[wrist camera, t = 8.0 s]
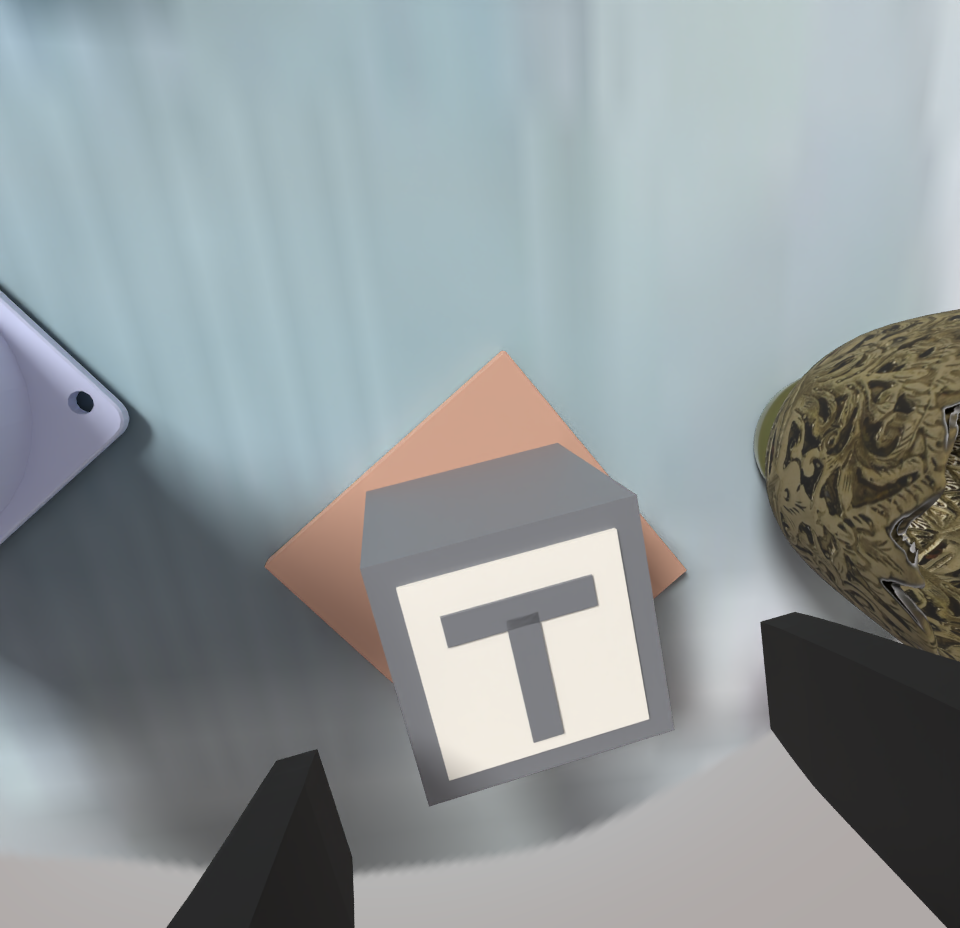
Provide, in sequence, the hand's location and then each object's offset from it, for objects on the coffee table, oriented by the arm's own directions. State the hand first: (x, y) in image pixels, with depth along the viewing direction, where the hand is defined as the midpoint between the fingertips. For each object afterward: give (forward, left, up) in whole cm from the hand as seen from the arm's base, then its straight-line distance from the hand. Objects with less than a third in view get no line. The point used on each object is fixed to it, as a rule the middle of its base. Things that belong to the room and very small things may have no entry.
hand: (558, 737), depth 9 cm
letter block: (0, 0, -7) cm, 7 cm away
